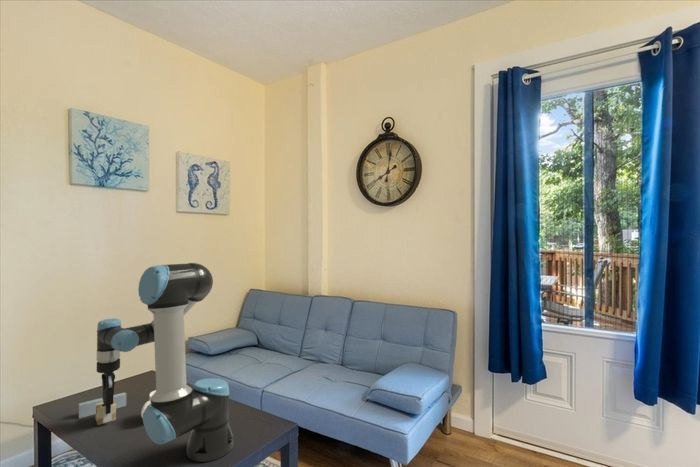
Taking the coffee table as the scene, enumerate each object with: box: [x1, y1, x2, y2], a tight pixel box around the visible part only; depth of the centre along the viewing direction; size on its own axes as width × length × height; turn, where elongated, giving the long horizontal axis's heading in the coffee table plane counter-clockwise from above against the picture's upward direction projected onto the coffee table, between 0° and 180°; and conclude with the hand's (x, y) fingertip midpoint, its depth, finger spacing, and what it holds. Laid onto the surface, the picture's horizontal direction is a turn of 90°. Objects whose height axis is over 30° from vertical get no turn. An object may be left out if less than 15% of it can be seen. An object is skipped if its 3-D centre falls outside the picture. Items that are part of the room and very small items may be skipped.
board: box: [78, 392, 127, 419], centre depth 146 cm, size 2×16×5 cm, turn 131°
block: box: [95, 399, 117, 426], centre depth 139 cm, size 6×6×6 cm
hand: (107, 420), depth 135 cm, fingers closed
